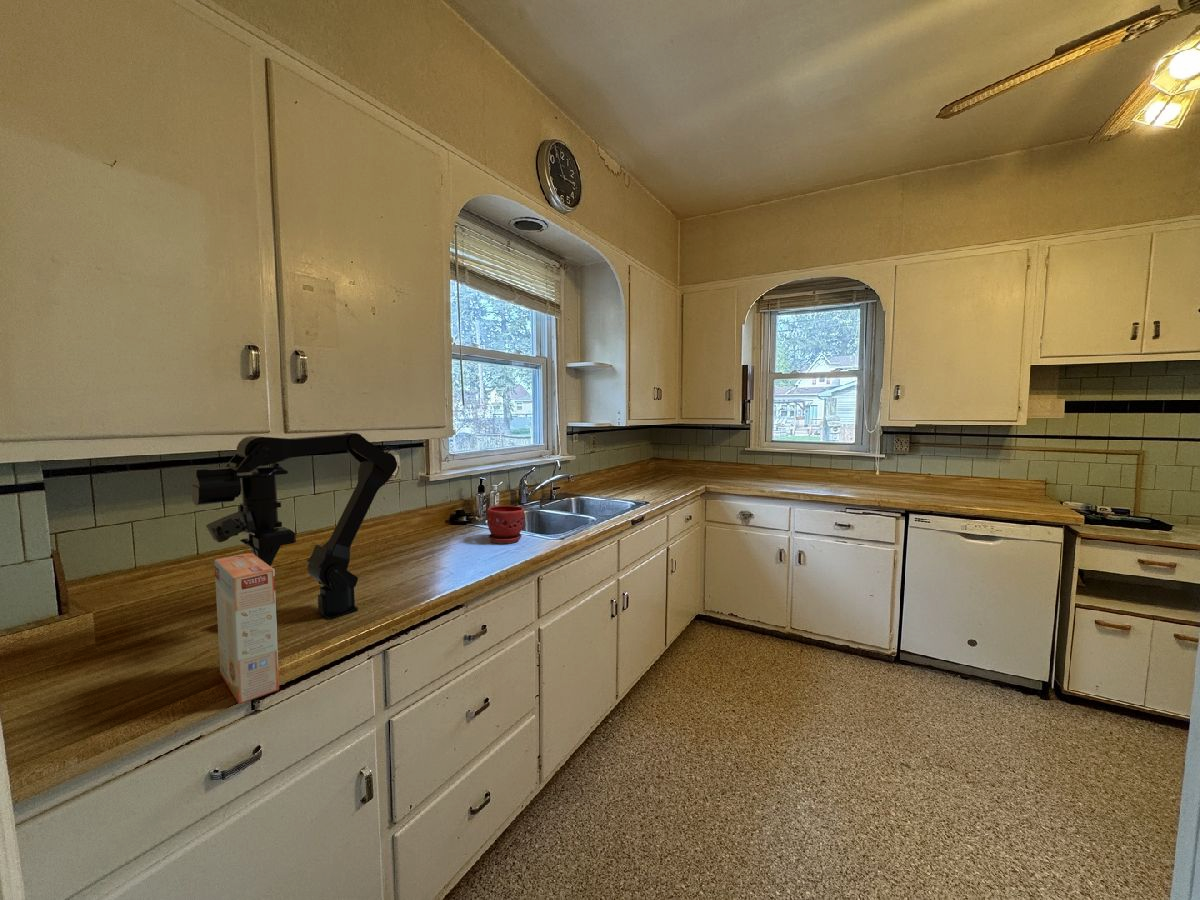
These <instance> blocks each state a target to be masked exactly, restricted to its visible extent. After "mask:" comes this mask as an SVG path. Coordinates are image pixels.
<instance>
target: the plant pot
mask: <svg viewBox="0 0 1200 900" xmlns="http://www.w3.org/2000/svg"><path fill="white" fill-rule="evenodd" d="M486 519H487V527H488V530H489V533H490V534H489V535H488V539H489V540H490V541H491V542H492V543H495V544H497V543H499V544H501V543H507V544H512V543H516V542H519V540H521V538H522V534H521V533H522V532H521V531H522V529H523V526H524V519H525V508H524V507H522V506H519V505H494V506H490V507H487V512H486ZM497 520H498V521H497ZM512 520H513V521H512Z"/></svg>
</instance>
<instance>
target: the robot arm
mask: <svg viewBox="0 0 1200 900" xmlns="http://www.w3.org/2000/svg"><path fill="white" fill-rule="evenodd" d="M344 451H346V452H348V453H349V454H350V455H351V456H352V457H353V459H354V460H355V461H357V462H358V463H359V467H358V471H357V484H356V485H355V488H354V490H353V492H352V494H351V496H350V498H349V500H348V502H347V504H346V506H345V508H344V510H343V512H342V514H341V515H340V518H339V521H338V522H337V524H336V526H335V528H334V530H333V531H332V534H331V535H330V538H329V539H328V540H327V541H326V542H325V543H324V544H323V545H322V546H321V545H319V544H316V545H315V546H314V548H313V550H312V553H311V555H310V556H309V558H308V559H307V560H306V562H307V563H308V564H307V572H308V574H309V576H310V577H311V578H313V579H314V580H316V581H317V583H318V584H319V585H322V586H320V587H319V594H318V595H317V607H318V609H317V613H318V614H321V615H322V616H323V617H325V618H326V619H328V620H331V619H335V618H337V617H338V618H339V617H340V616H344V615H347V614H350V613H353V612H357V611H358V610H359V607H358V606H357V605H356V603H355V600H356V599H355V588H356V586H357V583H358V579H359V577H358V576H356V575H355V574H353V573H351V572H350V571H348V568H349V566H350V562H351V547H352V544H353V542H354V540H355V538H356V536H357V533H358V532H359V530H360V528H361V526H362V524H363V522H364V520H365V518H366V515H367V514H368V511H369V509H370V507H371V505H372V503H373V501H374V498H375V497H376V495H377V493H378V491H379V490H380V489H381V488H382V487H383V486H384V485H385V484H386V483H387V482H388V481H390V479H391V478H392V476H393V475H394V473H395V472H396V470H397V468H398V460H397V458H396V457H395V456H394V454H393V453H390V452H387V451H384V450H382V449H381V448H380V447H378V446H376V445H375V444H373V443H372V442H370V441H369V440H367V439H366V438H365V437H364V436H363V435H362V434H360V433H357V432H344V433H339V434H329V435H318V436H316V435H315V436H305V437H294V438H285V437H284V438H283V437H271V436H270V437H269V436H256V435H251V436H245V437H244V438H242V439H241V440H240V441H239V442H238V444H237V446H236V453H234V455H233V457H231V459H230V460H229V461H228V462H227V464H226V465H225V466H224V467H218V468H194V469H193V477H192V481H191V485H190V493H191V499H192V502H193V504H194V506H196V507H197V506H204V505H212V504H220V503H222V504H223V503H229V502H233V501H235V499H236V498H238V497H239V496H241V497H242V503H239V504H238V505H237V511H236V512H234V513H231V514H228V515H226V516H223V517H222V518H219V519H217V520H214V521H212V522H210V523H208V524H207V525H205V526H206V529H207V530H208V532H209V534H210V536H211V537H212V539H213V540H214V541H216V542H217V543H223V542H225V541H228V540H229V539H230V538H232V537H234V536H235V537H236V536H239V534H240V533H243V534H244V535H243V536H244V538H242V539H239V541H240V542H241V543H242V544H244V545H246V546H247V547H249V548H250V549H251V553H253V554H254V555H256V556H257V557H258V558H259V559H261V560H262V561H264V562H265V563H266V564H268V565H269V566H270V567H272V564H273V562H274V560H275V558H276V556H277V554H278V552H279V550H280V548H281V546H286V545H291V544H295V543H296V540H297V538H296V532H295V531H293V530H291V529H289V528H287V527H285V526H283V522H282V521H280V520H279V511H278V510H279V508H281V507H282V502H281V501H278V491H277V476H280V475H287V474H289V471H288V470H287V469H285V468H283V467H282V466H281V465H280V462H284V461H287V460H289V459H291V458H295V457H299V456H308V455H309V456H310V455H318V454H326V453H335V452H344ZM268 465H270V466H268ZM261 466H263V467H261Z"/></svg>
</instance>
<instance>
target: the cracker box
mask: <svg viewBox="0 0 1200 900" xmlns="http://www.w3.org/2000/svg"><path fill="white" fill-rule="evenodd" d="M213 561H214V566H213V567H214V578H215V579H214V580H215V581H214V582H215V594H216V595H215V598H216V617H217V619H216V620H217V635H218V637H217V638H218V659H219V674H220V675H221V677H222V679H223V681H224V682H225V684H226V685H227V687H228V688H229V690H230V693H232V695H233V697H234V699H235V700H236V703H237V704H238V705H241V704H244V703H247V702H250V701H252V700H255V699H258V698H261V697H264V696H267V695H269V694H271V693H275V692H277V691H279V690H280V677H279V675H280V674H279V656H278V655H279V653H278V630H277V629H278V628H277V627H278V626H277V607H276V603H277V602H276V579H275V578H276V577H275V576H276V575H275V573H276V572H275V568H273V567H272V566H269V565H268V564H266V563H265V562H264V561H262V560H261V559H259V558H258V557H257V556H256V555H254V554H253V552H250V553H249V552H247V553H246V552H245V553H240V554H236V555H231V556H226V557H225V556H224V557H220V558H215V559H214V560H213Z"/></svg>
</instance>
